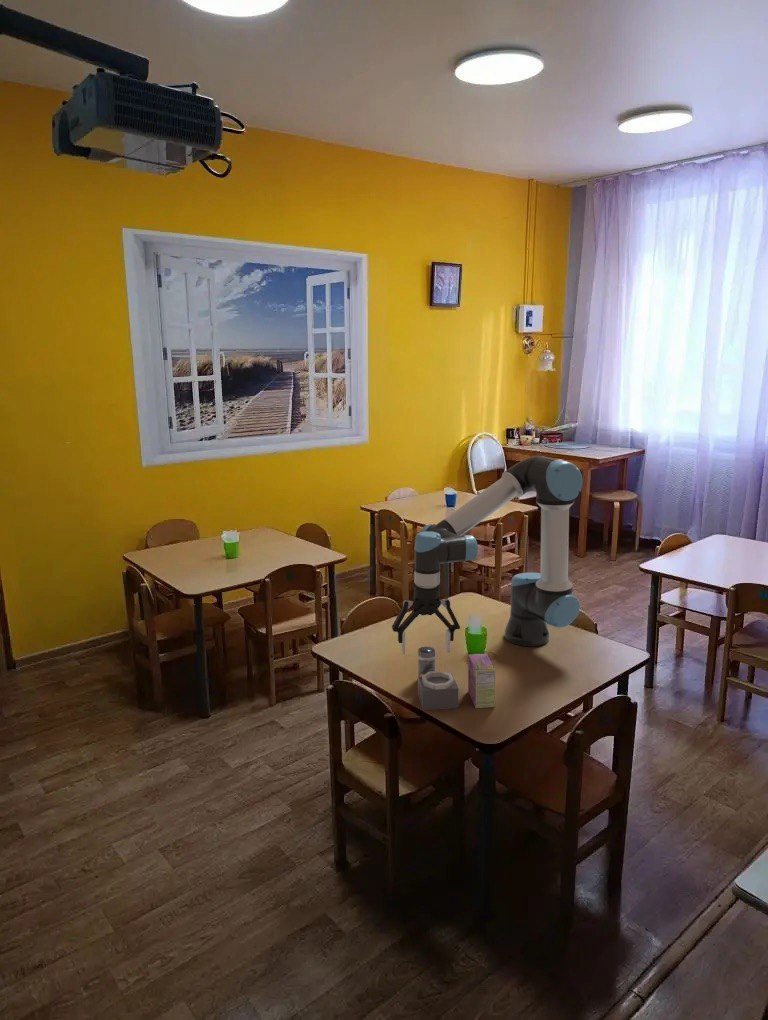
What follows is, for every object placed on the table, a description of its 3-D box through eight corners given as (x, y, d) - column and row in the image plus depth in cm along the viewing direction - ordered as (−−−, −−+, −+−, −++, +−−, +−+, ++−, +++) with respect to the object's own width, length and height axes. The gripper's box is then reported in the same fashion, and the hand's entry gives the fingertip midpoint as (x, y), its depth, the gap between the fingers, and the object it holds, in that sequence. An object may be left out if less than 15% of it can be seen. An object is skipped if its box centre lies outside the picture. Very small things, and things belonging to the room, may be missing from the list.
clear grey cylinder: (433, 676, 212) (433, 645, 210) (436, 683, 207) (436, 652, 205) (416, 677, 211) (416, 646, 209) (419, 684, 206) (419, 653, 204)
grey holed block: (451, 692, 201) (451, 669, 200) (458, 708, 193) (458, 684, 191) (417, 694, 200) (417, 672, 199) (423, 710, 192) (423, 686, 190)
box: (467, 691, 202) (468, 654, 200) (486, 690, 203) (487, 653, 200) (474, 709, 192) (475, 670, 190) (494, 708, 193) (496, 669, 190)
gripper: (465, 579, 207) (463, 644, 212) (383, 581, 204) (382, 648, 209) (471, 587, 200) (469, 655, 204) (386, 589, 197) (385, 658, 202)
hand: (425, 651), depth 207 cm, fingers open, 13 cm apart
